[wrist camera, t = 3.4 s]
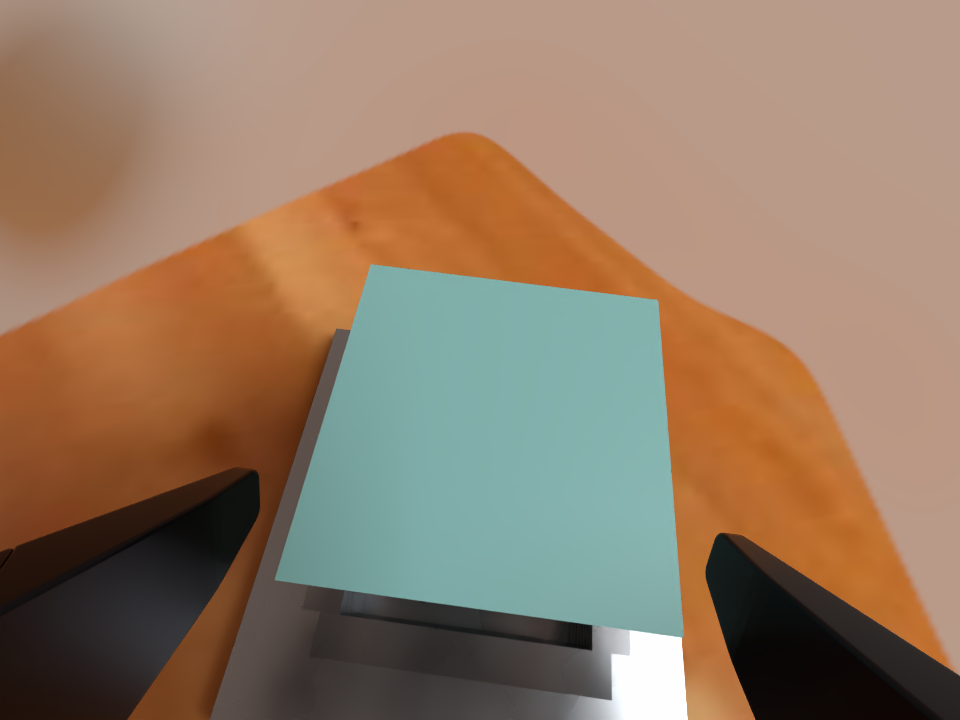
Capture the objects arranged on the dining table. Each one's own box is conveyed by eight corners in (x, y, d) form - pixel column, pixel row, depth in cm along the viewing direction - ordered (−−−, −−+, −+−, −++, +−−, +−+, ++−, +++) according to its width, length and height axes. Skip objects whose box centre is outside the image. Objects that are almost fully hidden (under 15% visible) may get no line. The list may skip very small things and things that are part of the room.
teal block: (550, 618, 15) (684, 638, 6) (383, 595, 15) (274, 580, 6) (557, 453, 17) (657, 299, 9) (415, 435, 18) (371, 264, 9)
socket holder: (676, 797, 14) (756, 868, 10) (222, 729, 14) (138, 774, 10) (650, 382, 20) (693, 332, 17) (342, 342, 21) (317, 285, 17)
